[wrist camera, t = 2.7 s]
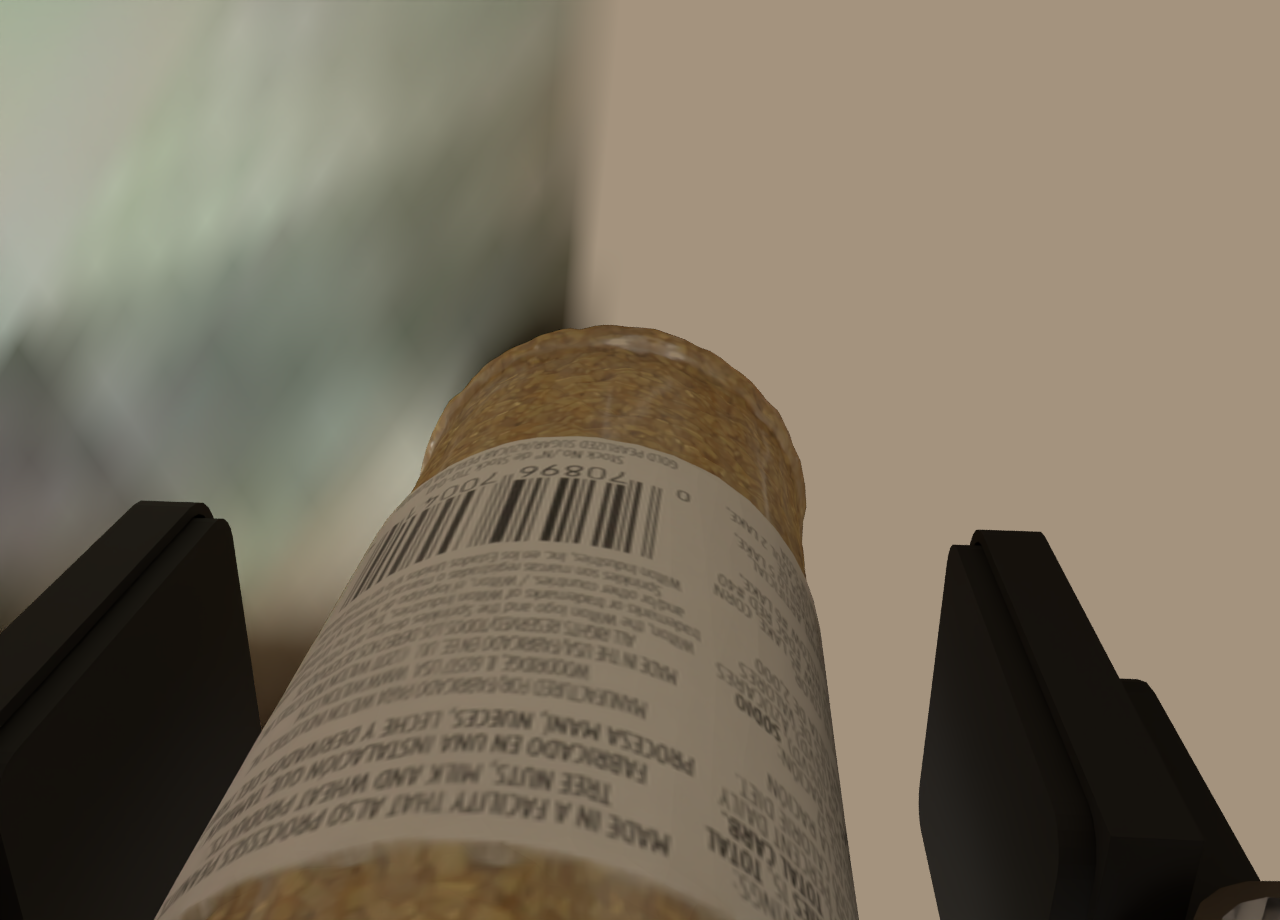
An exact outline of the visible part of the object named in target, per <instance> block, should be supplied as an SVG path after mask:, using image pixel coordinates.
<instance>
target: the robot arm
mask: <svg viewBox="0 0 1280 920" xmlns="http://www.w3.org/2000/svg"><path fill="white" fill-rule="evenodd" d="M260 733H261V726H260V719H259V712H258V705H257V699H256V692H255V685H254V678H253V671H252V665H251V658H250V651H249V644H248V638H247V631H246V624H245V617H244V610H243V604H242V597H241V590H240V583H239V577H238V570H237V563H236V556H235V549H234V543H233V536H232V532H231V528H230V526H229V524H228V522H227V521H226V520H224V519H214V518H213V515H212V513H211V511H210V509H209V507H207V506H206V505H205V504H204V503H193V502H164V501H140V502H138V503H136V504H135V505H133V506H132V507H131V508H130V509H129V510H128V511H127V512H126V513H125V514H124V515H123V516H122V517H121V518H120V519H119V520H118V521H117V522H116V523H115V524H114V525H113V526H112V527H111V528H110V529H109V530H108V531H106V532H105V533H104V534H103V535H102V536H101V537H100V538H99V539H98V540H97V541H96V542H95V543H94V544H93V545H92V546H91V547H90V548H89V549H88V550H87V551H86V552H85V553H84V554H83V555H82V556H81V557H80V558H78V559H77V560H76V561H75V562H74V563H73V564H72V565H71V566H70V567H69V568H68V569H67V570H66V571H65V572H64V573H63V574H62V575H61V576H60V577H59V578H58V579H57V580H56V581H55V582H54V583H53V584H52V585H51V586H49V587H48V588H47V589H46V590H45V591H44V592H43V593H42V594H41V595H40V596H39V597H38V598H37V599H36V600H35V601H34V602H33V603H32V604H31V605H30V606H29V607H28V608H27V609H26V610H25V611H24V612H23V613H21V614H20V615H19V616H18V617H17V618H16V619H15V620H14V621H13V622H12V623H11V624H10V625H9V626H8V627H7V628H6V629H5V630H4V631H3V632H2V633H1V634H0V920H154V919H155V917H156V915H157V913H158V912H159V910H160V908H161V906H162V904H163V903H164V901H165V899H166V897H167V896H168V894H169V892H170V890H171V888H172V887H173V885H174V883H175V881H176V879H177V878H178V876H179V874H180V872H181V871H182V869H183V867H184V865H185V864H186V862H187V860H188V858H189V857H190V855H191V853H192V852H193V850H194V848H195V846H196V845H197V843H198V841H199V839H200V838H201V836H202V834H203V832H204V831H205V829H206V827H207V825H208V824H209V822H210V820H211V819H212V817H213V815H214V813H215V812H216V810H217V808H218V806H219V805H220V803H221V801H222V799H223V798H224V796H225V794H226V792H227V791H228V789H229V787H230V785H231V784H232V782H233V780H234V778H235V777H236V775H237V773H238V771H239V770H240V768H241V766H242V764H243V763H244V761H245V759H246V757H247V756H248V754H249V752H250V750H251V749H252V747H253V745H254V743H255V742H256V740H257V738H258V737H259V735H260ZM919 818H920V827H921V833H922V837H923V842H924V846H925V851H926V855H927V860H928V865H929V870H930V874H931V879H932V884H933V888H934V892H935V898H936V902H937V906H938V911H939V916H940V920H1280V881H1260V879H1259V877H1258V876H1257V874H1256V872H1255V870H1254V869H1253V867H1252V865H1251V863H1250V861H1249V860H1248V858H1247V856H1246V855H1245V853H1244V851H1243V849H1242V847H1241V845H1240V844H1239V842H1238V840H1237V838H1236V837H1235V835H1234V833H1233V831H1232V830H1231V828H1230V826H1229V824H1228V822H1227V821H1226V819H1225V817H1224V815H1223V813H1222V812H1221V810H1220V808H1219V806H1218V805H1217V803H1216V801H1215V799H1214V797H1213V796H1212V794H1211V792H1210V790H1209V789H1208V787H1207V785H1206V783H1205V782H1204V780H1203V778H1202V776H1201V774H1200V773H1199V771H1198V769H1197V767H1196V765H1195V764H1194V762H1193V760H1192V758H1191V757H1190V755H1189V753H1188V751H1187V749H1186V748H1185V746H1184V744H1183V742H1182V740H1181V739H1180V737H1179V735H1178V734H1177V732H1176V730H1175V728H1174V726H1173V724H1172V723H1171V721H1170V719H1169V717H1168V716H1167V714H1166V712H1165V710H1164V709H1163V707H1162V705H1161V703H1160V701H1159V700H1158V698H1157V696H1156V694H1155V693H1154V691H1153V690H1152V689H1151V688H1150V686H1149V685H1148V684H1147V683H1146V682H1144V681H1141V680H1138V679H1119V677H1118V675H1117V673H1116V671H1115V669H1114V667H1113V665H1112V663H1111V661H1110V660H1109V658H1108V656H1107V654H1106V652H1105V650H1104V648H1103V646H1102V644H1101V643H1100V641H1099V639H1098V637H1097V635H1096V633H1095V631H1094V629H1093V627H1092V625H1091V623H1090V622H1089V620H1088V618H1087V616H1086V614H1085V612H1084V610H1083V608H1082V606H1081V604H1080V603H1079V601H1078V599H1077V597H1076V595H1075V593H1074V591H1073V589H1072V587H1071V586H1070V584H1069V582H1068V580H1067V578H1066V576H1065V574H1064V572H1063V570H1062V568H1061V566H1060V564H1059V563H1058V561H1057V559H1056V557H1055V555H1054V553H1053V551H1052V549H1051V548H1050V545H1049V543H1048V542H1047V540H1046V538H1045V536H1044V535H1043V534H1042V533H1041V532H1028V531H1001V530H1000V531H999V530H976V531H975V533H974V534H973V536H972V540H971V543H970V545H952V546H951V548H950V551H949V555H948V560H947V567H946V575H945V584H944V592H943V600H942V608H941V616H940V624H939V632H938V640H937V649H936V657H935V665H934V673H933V681H932V690H931V698H930V706H929V713H928V722H927V730H926V738H925V746H924V755H923V762H922V771H921V778H920V787H919Z"/></svg>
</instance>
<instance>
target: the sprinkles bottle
mask: <svg viewBox="0 0 1280 920" xmlns="http://www.w3.org/2000/svg"><path fill="white" fill-rule="evenodd" d="M805 510H806V496H805V483H804V478H803V472H802V468H801V462H800V459H799V457H798V455H797V453H796V451H795V448H794V446H793V444H792V441H791V437H790V434H789V432H788V430H787V428H786V426H785V424H784V422H783V420H782V418H781V416H780V414H779V412H778V411H777V410H776V409H775V408H774V407H773V406H772V405H771V404H770V403H769V402H768V401H767V400H766V399H765V398H764V396H763V395H762V394H761V392H760V391H759V390H758V389H757V388H756V387H755V385H754V384H753V383H752V382H751V381H750V380H749V379H747V378H746V377H745V376H744V375H743V374H741V373H740V372H739V371H737V370H736V369H734V368H733V367H731V366H730V365H729V364H728V363H726V362H725V361H724V360H723V359H722V358H720V357H718V356H717V355H715V354H714V353H712V352H711V351H708V350H705V349H702V348H700V347H698V346H696V345H694V344H692V343H690V342H688V341H687V340H685V339H682V338H679V337H676V336H673V335H671V334H668V333H665V332H662V331H659V330H656V329H648V328H635V327H624V326H617V325H600V326H593V327H589V328H584V329H580V330H579V329H572V328H569V329H561V330H558V331H554V332H551V333H547V334H544V335H540V336H538V337H536V338H534V339H532V340H531V341H529V342H527V343H524V344H521V345H519V346H516V347H514V348H512V349H509V350H507V351H506V352H505V353H503V354H502V355H500V356H498V357H497V358H495V359H493V360H492V361H490V362H489V363H488V364H486V365H485V366H484V367H483V368H482V369H481V370H480V371H479V373H478V374H477V375H476V376H474V377H473V378H472V379H471V381H470V382H469V383H468V385H467V386H466V387H465V388H464V390H463V391H462V392H461V393H459V394H458V395H456V396H455V397H454V398H452V399H451V400H450V401H449V403H448V404H447V406H446V408H445V409H444V411H443V413H442V415H441V417H440V418H439V421H438V423H437V425H436V427H435V429H434V431H433V433H432V435H431V438H430V440H429V443H428V446H427V449H426V452H425V455H424V460H423V464H422V468H421V474H420V477H419V479H418V481H417V483H416V485H415V487H414V489H413V490H412V492H411V494H410V495H408V496H407V498H406V499H405V500H404V501H403V502H402V503H401V504H400V505H399V506H398V507H397V509H396V510H395V511H394V512H393V513H392V514H391V515H390V517H389V518H388V519H387V520H386V522H385V523H384V525H383V526H382V527H381V529H380V530H379V532H378V533H377V535H376V537H375V538H374V540H373V542H372V543H371V545H370V547H369V548H368V550H367V552H366V554H365V555H364V557H363V559H362V560H361V562H360V564H359V565H358V567H357V569H356V571H355V572H354V574H353V576H352V578H351V579H350V581H349V583H348V584H347V586H346V588H345V590H344V591H343V593H342V595H341V597H340V598H339V600H338V602H337V603H336V605H335V607H334V609H333V610H332V612H331V614H330V615H329V617H328V619H327V620H326V622H325V624H324V626H323V628H322V629H321V631H320V633H319V635H318V636H317V638H316V639H315V641H314V643H313V644H312V646H311V647H310V649H309V651H308V653H307V654H306V656H305V658H304V660H303V661H302V663H301V665H300V667H299V668H298V670H297V672H296V673H295V675H294V677H293V679H292V680H291V682H290V684H289V686H288V687H287V689H286V691H285V693H284V694H283V696H282V698H281V699H280V701H279V703H278V705H277V706H276V708H275V710H274V711H273V713H272V715H271V716H270V718H269V720H268V721H267V723H266V725H265V727H264V728H263V730H262V732H261V733H260V735H259V737H258V738H257V740H256V742H255V743H254V745H253V747H252V749H251V750H250V752H249V754H248V756H247V757H246V759H245V761H244V763H243V764H242V766H241V768H240V770H239V771H238V773H237V775H236V777H235V778H234V780H233V782H232V784H231V785H230V787H229V789H228V791H227V792H226V794H225V796H224V798H223V799H222V801H221V803H220V805H219V806H218V808H217V810H216V812H215V813H214V815H213V817H212V819H211V820H210V822H209V824H208V825H207V827H206V829H205V831H204V832H203V834H202V836H201V838H200V839H199V841H198V843H197V845H196V846H195V848H194V850H193V852H192V853H191V855H190V857H189V858H188V860H187V862H186V864H185V865H184V867H183V869H182V871H181V872H180V874H179V876H178V878H177V879H176V881H175V883H174V885H173V887H172V888H171V890H170V892H169V894H168V896H167V897H166V899H165V901H164V903H163V904H162V906H161V908H160V910H159V912H158V913H157V915H156V917H155V919H154V920H859V918H858V911H857V904H856V896H855V890H854V883H853V876H852V868H851V861H850V854H849V847H848V840H847V833H846V826H845V819H844V811H843V804H842V797H841V788H840V781H839V773H838V767H837V758H836V751H835V743H834V735H833V727H832V719H831V711H830V703H829V695H828V687H827V680H826V671H825V664H824V656H823V648H822V641H821V633H820V627H819V623H818V618H817V614H816V610H815V605H814V601H813V598H812V595H811V593H810V589H809V587H808V584H807V581H806V574H805V568H804V567H805V564H804V554H803V547H802V530H803V519H804V515H805Z"/></svg>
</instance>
